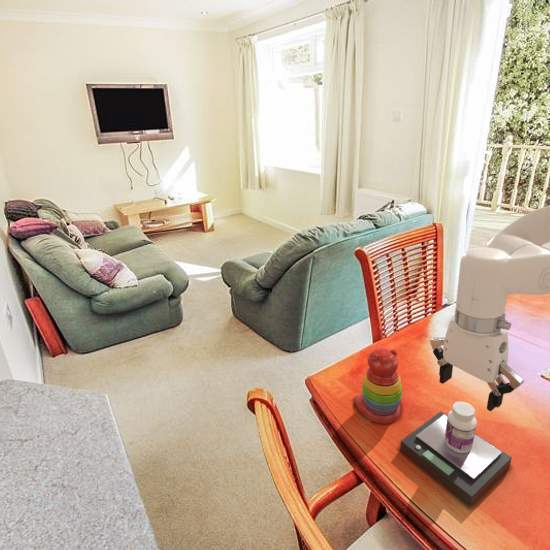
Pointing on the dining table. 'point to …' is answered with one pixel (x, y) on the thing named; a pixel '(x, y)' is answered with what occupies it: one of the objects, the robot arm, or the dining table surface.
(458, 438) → the pill bottle
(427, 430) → the weighing pan
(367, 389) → the stacking bear
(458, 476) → the scale
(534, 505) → the dining table surface
